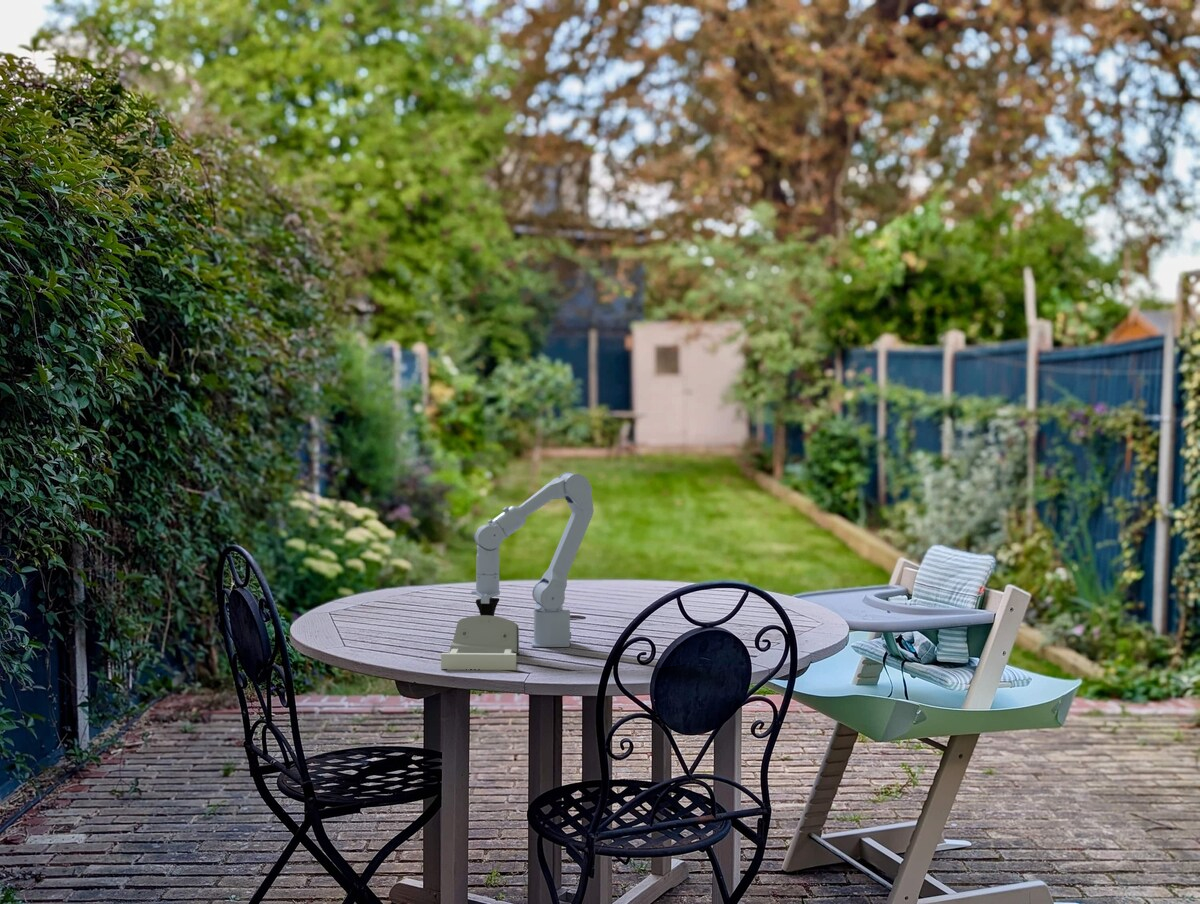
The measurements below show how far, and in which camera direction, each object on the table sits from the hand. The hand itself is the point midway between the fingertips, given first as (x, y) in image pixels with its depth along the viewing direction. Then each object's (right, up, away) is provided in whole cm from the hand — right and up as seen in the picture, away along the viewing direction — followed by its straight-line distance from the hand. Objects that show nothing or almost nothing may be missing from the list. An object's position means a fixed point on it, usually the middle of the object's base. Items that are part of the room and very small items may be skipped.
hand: (487, 627), depth 281 cm
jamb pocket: (0, -6, -20) cm, 20 cm away
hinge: (0, -5, -5) cm, 8 cm away
